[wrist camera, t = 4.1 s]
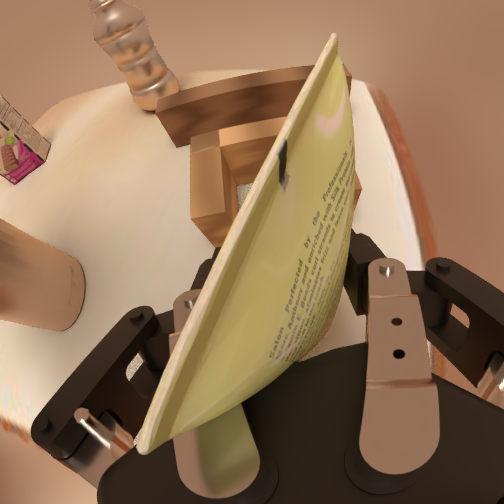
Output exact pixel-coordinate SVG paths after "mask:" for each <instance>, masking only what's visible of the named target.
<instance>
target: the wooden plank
mask: <svg viewBox="0 0 504 504" xmlns="http://www.w3.org/2000/svg"><path fill="white" fill-rule="evenodd" d="M342 65H343V69H344V72H345V76H346V80H347V85H348V91H349V97H350V90H351V80H352V75H351V74H350V73H349V71H348V69H347V68H346V67H345V65H344V64H342ZM314 67H315V65H312V66H301V67H292V68H284V69H277V70H270V71H264V72H258V73H253V74H247V75H242V76H238V77H233V78H229V79H224V80H220V81H216V82H212V83H208V84H205V85H201V86H197V87H194V88H190V89H187V90H184V91H181V92H178V93H174V94H171V95H168V96H165V97H163V98H160V99H158V102H157V107H156V112H155V113H156V115H157V117H158V118H159V120H160V121H161V123H162V125H163V126H164V128H165V130H166V131H167V133H168V134H169V136H170V138H171V139H172V141H173V142H174V144H175V146H176V147H181V146H184V145H188V144H191V137H193V136H196V135H200V134H204V133H208V132H212V131H216V130H220V129H224V128H229V127H233V126H238V125H242V124H247V123H252V122H257V121H263V120H268V119H274V118H280V117H287V116H288V114H289V112H290V110H291V108H292V106H293V104H294V102H295V100H296V98H297V97H298V95H299V93H300V91H301V89H302V87H303V86H304V84H305V82H306V80H307V78H308V77H309V75H310V73H311V72H312V70H313V68H314Z"/></svg>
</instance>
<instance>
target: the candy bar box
mask: <svg viewBox="0 0 504 504" xmlns="http://www.w3.org/2000/svg"><path fill="white" fill-rule="evenodd" d="M50 145H51V144H50V143H49V142H48V141H47V140H46V139H45V138H44V137H43V136H42V135H41V134H39V133H38V132H37V131H36V130H35V129H34V128H33V127H32V126H31V125H30V124H29V123H28V122H27V121H26V120H25V119H24V118H23V117H22V116H21V115H20V114H19V113H18V112H17V111H16V110H15V109H14V108H13V107H12V106H11V105H10V104H9V103H8V102H7V101H6V100H5V99H4V97H3V96H0V175H1V176H3V177H4V178H6V179H7V180H8V181H10V182H11V183H12V184H14V185H15V184H16V183H17V182H19V181H20V180H21V179H22V178H24V177H25V176H26V175H28V174H29V173H30V172H32V171H33V170H34V169H36V168H37V167H38V166H40V165H41V164H43V163H44V162H45V161H46V158H47V155H48V151H49V148H50Z"/></svg>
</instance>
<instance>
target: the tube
mask: <svg viewBox="0 0 504 504" xmlns="http://www.w3.org/2000/svg"><path fill="white" fill-rule="evenodd" d="M354 192H355V146H354V130H353V119H352V110H351V103H350V97H349V91H348V85H347V80H346V76H345V72H344V69H343V65H342V62H341V59H340V57H339V54H338V37H337V35H336V34H335V33H332V35H331V37H330V39H329V41H328V42H327V44H326V46H325V48H324V50H323V52H322V53H321V55H320V57H319V60H318V61H317V63H316V65H315V67H314V68H313V70H312V72H311V73H310V75H309V77H308V78H307V80H306V82H305V84H304V86H303V87H302V89H301V91H300V93H299V95H298V97H297V98H296V100H295V102H294V104H293V106H292V108H291V110H290V112H289V114H288V116H287V118H286V120H285V122H284V124H283V126H282V128H281V130H280V132H279V134H278V136H277V139H276V140H275V143H274V144H273V146H272V148H271V150H270V152H269V154H268V156H267V158H266V160H265V161H264V163H263V165H262V167H261V169H260V171H259V173H258V175H257V177H256V179H255V181H254V183H253V185H252V186H251V188H250V190H249V192H248V194H247V196H246V198H245V200H244V202H243V204H242V206H241V208H240V210H239V212H238V214H237V216H236V218H235V220H234V222H233V224H232V226H231V228H230V230H229V233H228V235H227V237H226V239H225V241H224V243H223V245H222V247H221V249H220V251H219V254H218V256H217V258H216V260H215V262H214V264H213V266H212V269H211V271H210V273H209V275H208V277H207V279H206V282H205V284H204V286H203V288H202V290H201V292H200V295H199V297H198V299H197V301H196V303H195V305H194V307H193V309H192V311H191V313H190V315H189V318H188V320H187V322H186V324H185V326H184V328H183V330H182V332H181V335H180V337H179V339H178V341H177V343H176V346H175V348H174V350H173V352H172V354H171V357H170V359H169V361H168V363H167V366H166V368H165V370H164V372H163V375H162V378H161V380H160V383H159V385H158V388H157V390H156V393H155V395H154V398H153V400H152V403H151V405H150V408H149V410H148V413H147V415H146V418H145V420H144V423H143V427H142V430H141V433H140V436H139V439H138V442H137V446H136V448H137V450H138V452H139V454H142V455H146V454H149V453H150V452H152V451H153V450H154V449H156V448H157V447H158V446H160V445H161V444H163V443H164V442H166V441H168V440H170V439H172V438H175V437H177V436H179V435H181V434H183V433H185V432H188V431H190V430H192V429H194V428H196V427H198V426H200V425H202V424H204V423H206V422H208V421H210V420H212V419H214V418H215V417H217V416H219V415H221V414H223V413H225V412H226V411H228V410H230V409H231V408H233V407H235V406H236V405H238V404H240V403H241V402H243V401H245V400H246V399H248V398H250V397H251V396H253V395H254V394H256V393H257V392H259V391H260V390H261V389H263V388H264V387H266V386H267V385H268V384H270V383H271V382H272V381H274V380H275V379H276V378H277V377H278V376H280V375H281V374H282V373H283V372H284V371H285V370H286V369H287V368H288V367H289V366H290V365H291V364H292V363H293V362H298V361H299V360H301V359H302V358H303V357H304V356H305V355H306V354H308V353H309V352H310V351H311V350H312V349H313V348H314V347H315V346H316V345H317V343H318V342H319V341H320V340H321V339H322V338H323V336H324V335H325V334H326V332H327V330H328V329H329V327H330V325H331V323H332V320H333V318H334V315H335V313H336V310H337V306H338V303H339V300H340V296H341V292H342V287H343V283H344V277H345V271H346V266H347V259H348V253H349V245H350V236H351V227H352V218H353V206H354Z"/></svg>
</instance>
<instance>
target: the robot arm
mask: <svg viewBox="0 0 504 504" xmlns="http://www.w3.org/2000/svg"><path fill="white" fill-rule="evenodd" d="M221 247H222V246H221ZM221 247H216V248H215V251H214V254H213V257H212V259H207V260H205V261H204V262H203V263H202V264H201V265H200V267H199V270H198V273H197V274H196V278H195V279H194V282H193V284H192V287H191V289H190V291H187V292H185V293H183V294H181V295H180V296H179V297H178V298H177V299H176V300H175V301H174V304H173V310H170V311H168V312H164V313H161V314H158V315H155V313H154V310H153V309H152V308H151V307H149V306H140V307H137V308H134V309H132V310H130V311H129V312H128V313H126V314H125V315H124V316H123V317H122V318H121V320H120V321H119V322H118V323H117V324H116V325H115V326H114V327H113V328H112V329H111V330H110V331H109V333H108V334H107V335H106V336H105V337H104V338H103V339H102V340H101V341H100V342H99V344H98V345H97V346H96V347H95V348H94V349H93V350H92V351H91V352H90V354H89V355H88V356H87V357H86V358H85V359H84V360H83V362H82V363H81V364H80V365H79V366H78V367H77V368H76V370H75V371H74V372H73V373H72V374H71V375H70V377H69V378H68V379H67V380H66V381H65V382H64V384H63V385H62V386H61V387H60V388H59V390H58V391H57V392H56V393H55V394H54V396H53V397H52V398H51V399H50V401H49V402H48V403H47V404H46V405H45V407H44V408H43V409H42V410H41V412H40V413H39V414H38V415H37V417H36V418H35V420H34V421H33V423H32V426H31V437H32V439H33V441H34V442H35V443H36V444H38V445H39V446H40V447H41V448H43V449H44V450H45V451H47V452H48V453H49V454H51V456H52V457H53V458H54V459H56V460H57V461H59V462H60V463H62V464H63V465H64V466H66V467H68V468H69V469H71V470H72V471H74V472H75V473H77V474H79V475H80V476H81V477H83V478H84V479H85V480H86V481H88V482H89V483H90V484H92V485H93V486H94V487H95V488H97V502H98V504H504V293H503V292H501V291H500V290H499V289H497V288H496V287H494V286H493V285H491V284H490V283H488V282H487V281H485V280H483V279H482V278H480V277H479V276H477V275H476V274H474V273H472V272H471V271H469V270H468V269H466V268H464V267H463V266H461V265H459V264H458V263H456V262H454V261H453V260H450V259H447V258H441V257H438V258H432V259H430V260H428V261H427V263H426V268H425V271H407V270H406V268H405V265H404V264H403V263H402V262H400V261H399V260H396V259H392V258H387V257H386V256H385V255H384V254H383V253H382V251H381V250H380V249H379V248H378V247H377V245H376V244H375V243H374V242H373V241H372V239H371V238H370V237H369V236H366V235H364V234H362V233H359V234H356V233H355V232H354V231H353V229H352V228H351V236H350V245H349V253H348V259H347V266H346V271H345V277H344V283H343V285H344V287H345V289H346V292H347V294H348V296H349V299H350V301H351V303H352V306H353V308H354V310H355V313H356V315H357V316H359V315H363V314H365V315H366V317H367V318H366V336H365V342H364V343H360V344H355V345H351V346H346V347H341V348H336V349H333V350H330V351H328V352H325V353H323V354H320V355H318V356H315V357H312V358H310V359H307V360H304V361H301V362H293V363H292V364H291V365H290V366H289V367H288V368H287V369H286V370H285V371H284V372H283V373H282V374H281V375H280V376H278V377H277V378H276V379H275V380H274V381H272V382H271V383H270V384H268V385H267V386H266V387H264V388H263V389H261V390H260V391H259V392H257V393H256V394H254V395H253V396H251V397H250V398H248V399H246V400H245V401H243V402H241V403H240V404H238V405H236V406H235V407H233V408H231V409H230V410H228V411H226V412H225V413H223V414H221V415H219V416H217V417H215V418H214V419H212V420H210V421H208V422H206V423H204V424H202V425H200V426H198V427H196V428H194V429H192V430H190V431H188V432H185V433H183V434H181V435H179V436H177V437H175V438H172V439H170V440H168V441H166V442H164V443H163V444H161V445H160V446H158V447H157V448H156V449H154V450H153V451H152V452H150V453H149V454H146V455H142V454H139V452H138V450H137V448H136V446H137V444H136V445H135V446H134V441H133V440H134V439H135V437H136V436H137V434H138V432H139V431H140V429H141V428H142V426H143V423H144V420H145V418H146V415H147V413H148V410H149V408H150V405H151V403H152V400H153V398H154V395H155V393H156V390H157V388H158V385H159V383H160V380H161V378H162V375H163V372H164V370H165V368H166V366H167V363H168V361H169V359H170V357H171V354H172V352H173V350H174V348H175V346H176V343H177V341H178V339H179V337H180V335H181V332H182V330H183V328H184V326H185V324H186V322H187V320H188V318H189V315H190V313H191V311H192V309H193V307H194V305H195V303H196V301H197V299H198V297H199V295H200V292H201V290H202V288H203V286H204V284H205V282H206V279H207V277H208V275H209V273H210V271H211V269H212V266H213V264H214V262H215V260H216V258H217V256H218V254H219V251H220V249H221ZM84 290H85V285H84V275H83V271H82V268H81V266H80V264H79V263H78V261H77V260H76V259H75V258H74V257H72V256H70V255H68V254H66V253H63V252H61V251H59V250H57V249H55V248H54V247H52V246H50V245H48V244H46V243H44V242H42V241H40V240H38V239H36V238H35V237H33V236H31V235H29V234H27V233H25V232H23V231H22V230H20V229H18V228H16V227H14V226H13V225H11V224H9V223H7V222H5V221H4V220H2V219H0V319H1V320H5V321H10V322H14V323H19V324H23V325H28V326H32V327H38V328H43V329H49V330H54V331H63V330H66V329H67V328H69V327H70V326H71V325H72V324H73V323H74V321H75V320H76V318H77V316H78V315H79V312H80V310H81V307H82V303H83V299H84ZM452 304H455V305H456V306H457V307H458V308H460V309H461V310H462V311H464V312H465V313H466V314H467V316H468V317H469V322H470V325H469V328H467V327H466V326H464V325H463V324H462V323H461V322H459V321H458V320H457V319H456V318H455V317H454V316H452V315H451V314H450V312H451V308H452ZM427 340H428V341H430V342H431V343H432V344H433V345H434V346H435V347H436V348H437V349H438V350H439V351H440V352H441V353H442V354H443V355H444V356H445V357H446V358H447V359H448V360H449V361H450V362H451V363H452V364H453V365H454V366H455V367H456V368H457V369H458V370H459V371H460V372H461V373H462V374H463V375H464V376H465V377H466V378H467V379H468V380H469V381H470V382H471V383H472V384H473V385H474V386H475V387H476V388H477V392H478V396H479V397H478V396H476V395H474V394H472V393H470V392H468V391H466V390H464V389H462V388H460V387H458V386H457V385H455V384H453V383H451V382H449V381H447V380H445V379H443V378H441V377H439V376H437V375H435V374H433V373H431V368H430V360H429V353H428V346H427ZM137 353H139V355H140V356H141V358H142V359H143V361H144V362H143V363H142V365H141V366H140V367H139V369H138V370H137V371H136V373H135V374H134V375H133V377H132V378H131V379H130V381H128V379H127V377H126V369H127V366H128V365H129V364H130V362H131V361H132V360H133V358H134V357H135V356H136V355H137Z"/></svg>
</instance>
